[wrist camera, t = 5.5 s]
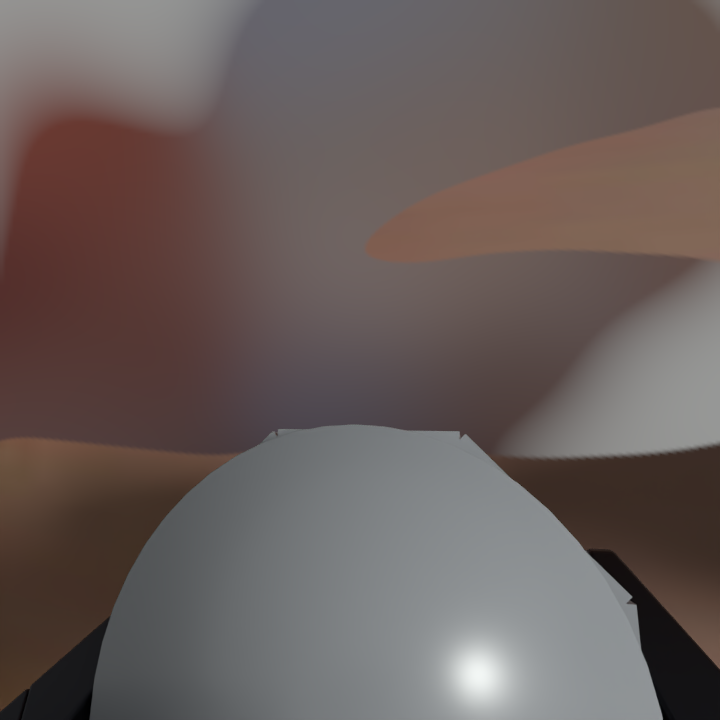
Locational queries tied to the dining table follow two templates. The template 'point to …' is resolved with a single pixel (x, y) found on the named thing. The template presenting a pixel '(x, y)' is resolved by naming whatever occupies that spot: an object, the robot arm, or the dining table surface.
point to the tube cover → (368, 595)
